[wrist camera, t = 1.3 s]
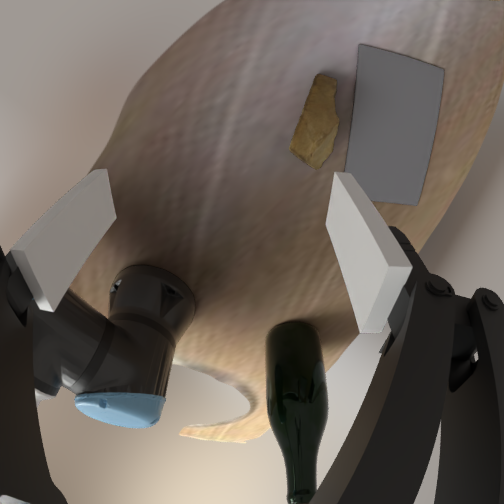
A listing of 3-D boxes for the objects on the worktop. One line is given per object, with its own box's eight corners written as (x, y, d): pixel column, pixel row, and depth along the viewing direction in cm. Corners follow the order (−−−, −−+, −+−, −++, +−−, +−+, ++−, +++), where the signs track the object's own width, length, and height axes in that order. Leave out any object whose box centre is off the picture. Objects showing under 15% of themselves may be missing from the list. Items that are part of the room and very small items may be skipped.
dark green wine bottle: (260, 349, 56) (258, 513, 29) (271, 316, 50) (274, 512, 23) (309, 354, 57) (323, 509, 30) (327, 322, 51) (353, 503, 24)
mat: (339, 197, 36) (340, 198, 36) (358, 44, 25) (359, 44, 24) (416, 204, 36) (417, 205, 36) (443, 69, 24) (444, 69, 24)
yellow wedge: (308, 49, 24) (246, 116, 27) (372, 79, 20) (299, 160, 23) (344, 101, 33) (296, 155, 36) (395, 135, 28) (341, 195, 32)
